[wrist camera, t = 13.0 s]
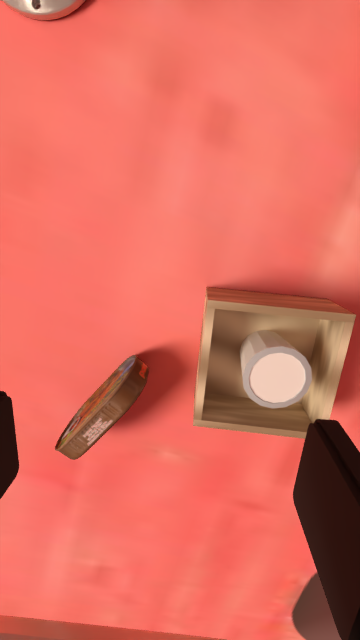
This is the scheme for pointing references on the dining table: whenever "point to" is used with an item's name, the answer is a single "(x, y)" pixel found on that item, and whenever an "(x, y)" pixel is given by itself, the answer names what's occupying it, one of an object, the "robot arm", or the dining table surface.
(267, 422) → the box
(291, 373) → the shot glass
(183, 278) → the dining table surface
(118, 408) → the tin
